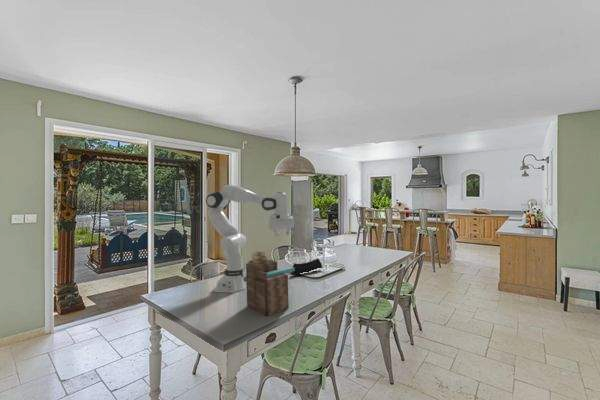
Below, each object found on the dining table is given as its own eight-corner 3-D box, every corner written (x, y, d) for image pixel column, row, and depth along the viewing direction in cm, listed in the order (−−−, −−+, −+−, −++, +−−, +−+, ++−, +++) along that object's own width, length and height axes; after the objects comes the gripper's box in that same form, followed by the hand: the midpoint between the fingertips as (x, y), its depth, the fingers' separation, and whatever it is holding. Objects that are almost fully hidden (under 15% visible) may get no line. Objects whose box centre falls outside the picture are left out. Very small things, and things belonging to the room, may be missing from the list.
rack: (268, 299, 184) (267, 249, 183) (288, 308, 169) (287, 254, 168) (247, 306, 173) (245, 253, 172) (266, 316, 158) (265, 258, 158)
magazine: (290, 266, 232) (318, 251, 248) (288, 265, 235) (315, 250, 251) (295, 285, 235) (323, 269, 251) (293, 284, 238) (320, 268, 254)
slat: (290, 269, 179) (290, 266, 179) (294, 270, 176) (294, 267, 176) (261, 277, 164) (261, 273, 164) (265, 278, 162) (265, 275, 161)
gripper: (290, 214, 207) (290, 233, 207) (267, 216, 193) (267, 236, 193) (296, 214, 202) (296, 234, 202) (272, 216, 188) (273, 237, 188)
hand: (282, 235), depth 198 cm, fingers open, 8 cm apart
